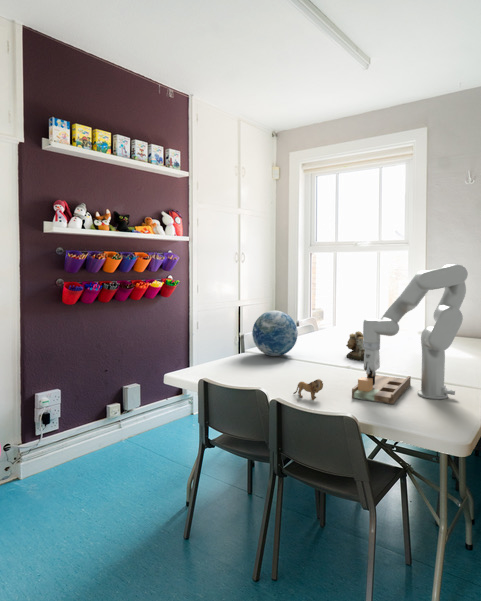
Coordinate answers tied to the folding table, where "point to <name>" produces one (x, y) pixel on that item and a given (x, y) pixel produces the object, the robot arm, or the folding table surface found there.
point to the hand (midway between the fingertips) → (370, 384)
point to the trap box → (383, 390)
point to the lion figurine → (310, 387)
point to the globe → (274, 333)
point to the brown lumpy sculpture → (356, 346)
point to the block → (365, 384)
